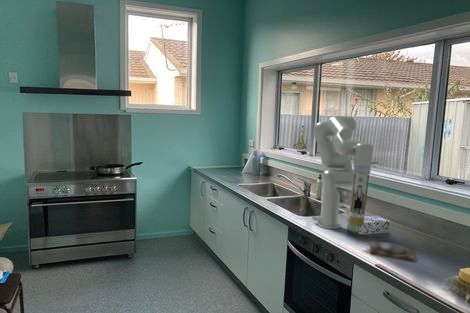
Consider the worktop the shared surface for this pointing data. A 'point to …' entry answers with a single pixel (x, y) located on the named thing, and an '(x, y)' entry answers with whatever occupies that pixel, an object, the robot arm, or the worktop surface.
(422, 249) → the worktop surface
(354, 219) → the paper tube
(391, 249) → the brown tray
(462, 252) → the worktop surface
